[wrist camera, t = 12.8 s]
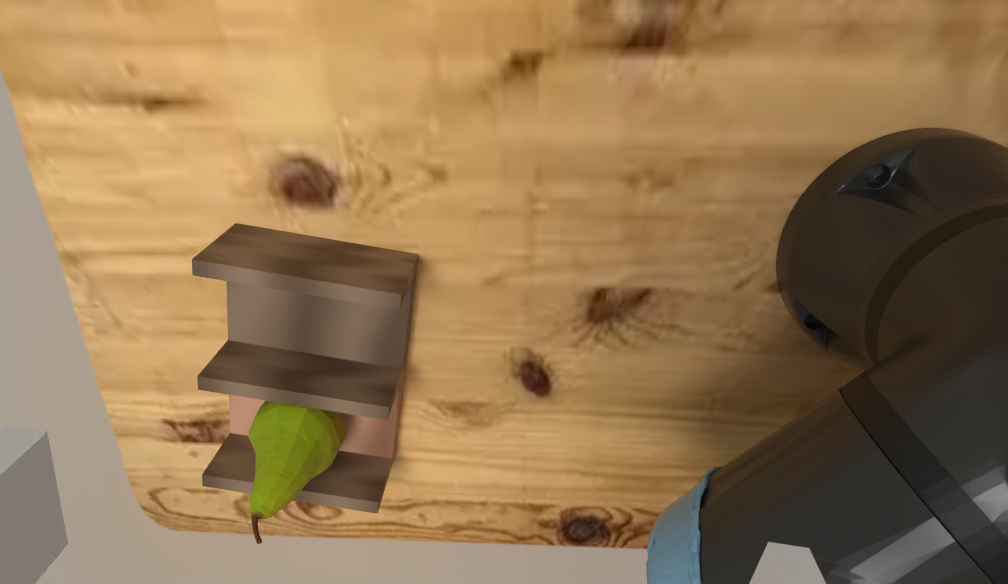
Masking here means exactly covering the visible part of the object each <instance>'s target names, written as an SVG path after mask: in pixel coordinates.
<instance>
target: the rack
mask: <svg viewBox="0 0 1008 584" xmlns="http://www.w3.org/2000/svg"><path fill="white" fill-rule="evenodd" d="M417 260H418V254H412V253H406V252H400V251H394V250H388V249H382V248H376V247H371V246H365V245H359V244H353V243H347V242H341V241H335V240H329V239H324V238H318V237H312V236H306V235H300V234H294V233H288V232H282V231H276V230H271V229H265V228H259V227H253V226H247V225H241V224H234V225H233V226H232V227H231V228H229V229H228V230H227V231H226V232H225V233H223V234H222V235H221V236H220V237H219V238H217V239H216V240H215V241H214V242H213V243H211V244H210V245H209V246H208V247H206V248H205V249H204V250H203V251H202V252H200V253H199V254H198V255H197V256H196V257H194V258H193V259H192V271H193V275H194V276H200V277H206V278H212V279H218V280H224V281H227V312H228V341H227V342H226V343H225V344H224V346H223V347H222V348H221V349H220V350H219V351H218V353H217V354H216V355H215V356H214V357H213V359H212V360H211V361H210V362H209V363H208V364H207V366H206V367H205V368H204V369H203V370H202V372H201V373H200V374H199V375H198V390H204V391H210V392H217V393H223V394H229V402H230V434H229V435H228V437H227V438H226V440H225V441H224V443H223V444H222V446H221V447H220V449H219V450H218V452H217V453H216V455H215V456H214V458H213V459H212V461H211V462H210V464H209V465H208V467H207V468H206V470H205V471H204V473H203V474H202V481H203V486H206V487H212V488H219V489H225V490H232V491H238V492H244V493H251V494H252V490H253V483H254V477H255V466H256V453H255V451H254V448H253V446H252V444H251V442H250V439H249V437H248V436H249V430H250V428H251V426H252V423H253V421H254V419H255V417H256V414H257V412H258V410H259V408H260V407H261V406H262V404H263V403H264V402H265V401H272V402H278V403H285V404H291V405H297V406H303V407H309V408H316V409H322V410H328V411H334V412H340V415H341V417H342V420H343V423H344V425H345V428H346V437H345V439H344V441H343V443H342V445H341V447H340V449H339V451H338V453H337V455H336V456H335V458H334V460H333V462H332V464H331V466H330V467H329V468H328V469H326V470H325V471H323V472H322V473H320V474H319V475H317V476H315V477H314V478H312V479H311V480H310V481H309V482H308V483H307V484H306V485H305V486H304V488H303V489H302V490H301V491H300V492H299V494H298V495H297V496H296V497H295V498H294V499H293V500H295V501H302V502H308V503H314V504H321V505H327V506H333V507H340V508H346V509H352V510H359V511H365V512H372V513H378V510H379V507H380V503H381V500H382V497H383V493H384V490H385V486H386V483H387V480H388V476H389V473H390V470H391V466H392V463H393V459H394V456H395V448H396V439H397V431H398V422H399V414H400V405H401V396H402V388H403V379H404V371H405V362H406V354H407V345H408V337H409V328H410V320H411V311H412V303H413V294H414V286H415V277H416V269H417Z"/></svg>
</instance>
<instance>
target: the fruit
mask: <svg viewBox="0 0 1008 584" xmlns="http://www.w3.org/2000/svg"><path fill="white" fill-rule="evenodd" d="M248 437H249V439H250V442H251V444H252V446H253V448H254V451H255V453H256V466H255V477H254V483H253V490H252V494H251V499H250V506H249V508H250V513H251V517H252V526H253V532H254V535H255V539H256V542H257V544H260V543H262V540H261V538H260V535H259V532H258V525H257V524H258V519H267V518H269V517H272V516H273V515H274V514H276V513H277V512H278V511H280V510H281V509H282V508H284V507H285V506H286V505H288V504H289V503H290V502H291V501H292V500H293V499H294V498H295V497H296V496H297V495H298V494H299V492H300V491H301V490H302V489H303V488H304V486H305V485H306V484H307V483H308V482H309V481H310V480H311V479H312V478H314V477H315V476H317V475H319V474H320V473H322V472H323V471H325V470H326V469H328V468H329V467H330V466H331V464H332V462H333V460H334V458H335V456H336V455H337V453H338V451H339V449H340V447H341V445H342V443H343V441H344V439H345V437H346V428H345V425H344V423H343V420H342V417H341V415H340V412H334V411H328V410H322V409H316V408H309V407H303V406H297V405H291V404H285V403H278V402H272V401H265V402H264V403H263V404H262V406H261V407H260V408H259V410H258V412H257V414H256V417H255V419H254V421H253V423H252V426H251V428H250V430H249V436H248Z"/></svg>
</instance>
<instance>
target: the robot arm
mask: <svg viewBox="0 0 1008 584" xmlns="http://www.w3.org/2000/svg"><path fill="white" fill-rule="evenodd" d="M777 279H778V285H779V289H780V293H781V295H782V298H783V301H784V303H785V305H786V307H787V308H788V310H789V312H790V313H791V315H792V316H793V317H794V319H795V320H796V321H797V323H798V324H799V325H800V327H801V328H802V329H803V331H804V332H805V333H806V334H807V335H808V336H809V338H810V339H812V340H813V341H814V342H815V343H816V344H817V345H818V346H820V347H821V348H822V349H824V350H825V351H827V352H828V353H830V354H831V355H833V356H835V357H837V358H839V359H841V360H843V361H845V362H847V363H850V364H852V365H854V366H856V367H858V368H861V369H863V370H865V372H864V373H862V374H861V375H859V376H858V377H856V378H855V379H853V380H852V381H851V382H849V383H848V384H846V385H845V386H843V387H841V388H839V389H838V390H836V391H835V392H833V393H832V394H830V395H829V396H828V397H826V398H825V399H823V400H822V401H820V402H819V403H818V404H816V405H815V406H813V407H812V408H810V409H809V410H807V411H806V412H804V413H803V414H801V415H800V416H798V417H797V418H795V419H794V420H792V421H791V422H789V423H788V424H786V425H785V426H783V427H782V428H780V429H779V430H777V431H776V432H774V433H773V434H771V435H770V436H768V437H767V438H765V439H764V440H762V441H761V442H759V443H758V444H756V445H755V446H753V447H752V448H750V449H749V450H747V451H746V452H744V453H743V454H741V455H740V456H738V457H737V458H735V459H734V460H732V461H731V462H729V463H728V464H726V465H725V466H723V467H715V468H713V469H711V470H709V471H708V472H707V473H705V475H704V476H703V477H702V478H701V480H700V482H699V484H697V485H696V486H695V487H694V488H692V489H691V490H690V491H688V492H687V493H686V494H684V495H683V496H682V497H680V498H679V499H678V500H676V501H675V502H674V503H672V504H671V505H670V506H668V507H667V508H666V509H665V510H664V511H663V512H662V513H661V514H660V516H659V517H658V518H657V520H656V522H655V524H654V525H653V528H652V530H651V533H650V537H649V543H648V548H647V549H648V560H647V564H646V568H647V569H646V570H647V584H1008V148H1006V147H1004V146H1002V145H1000V144H997V143H995V142H992V141H990V140H987V139H984V138H981V137H979V136H976V135H973V134H970V133H967V132H963V131H959V130H953V129H944V128H923V129H914V130H907V131H902V132H898V133H894V134H891V135H887V136H884V137H882V138H879V139H876V140H874V141H871V142H869V143H867V144H865V145H863V146H861V147H859V148H857V149H855V150H853V151H852V152H850V153H848V154H847V155H845V156H844V157H842V158H841V159H839V160H838V161H837V162H835V163H834V164H833V165H831V166H830V167H829V168H828V169H827V170H825V171H824V172H823V173H822V174H821V175H820V176H819V177H818V178H817V179H816V180H815V181H814V182H813V183H812V184H811V185H810V186H809V188H808V189H807V190H806V191H805V193H804V194H803V195H802V196H801V198H800V199H799V201H798V202H797V204H796V205H795V207H794V209H793V210H792V212H791V214H790V216H789V218H788V220H787V222H786V225H785V227H784V230H783V233H782V235H781V239H780V243H779V247H778V253H777ZM67 544H68V541H67V536H66V531H65V525H64V520H63V514H62V509H61V504H60V498H59V493H58V488H57V482H56V477H55V472H54V467H53V461H52V455H51V450H50V445H49V439H48V434H47V432H45V431H38V430H32V429H24V428H19V427H12V426H5V425H3V426H2V427H1V428H0V584H35V583H36V582H37V580H38V579H39V578H40V577H41V576H42V574H43V573H44V572H45V571H46V569H47V568H48V567H49V566H50V565H51V564H52V562H53V561H54V560H55V559H56V558H57V556H58V555H59V554H60V553H61V552H62V550H63V549H64V548H65V547H66V545H67Z"/></svg>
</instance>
